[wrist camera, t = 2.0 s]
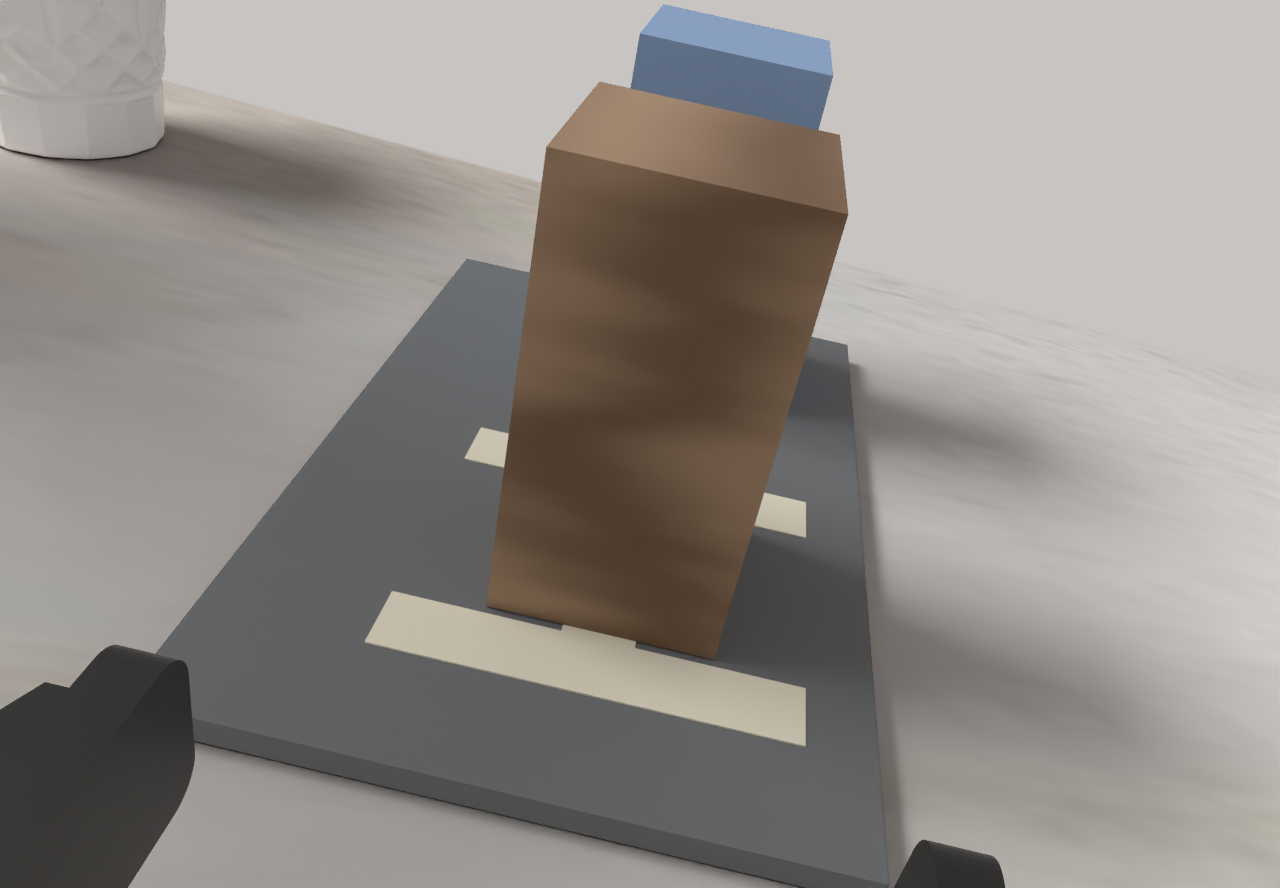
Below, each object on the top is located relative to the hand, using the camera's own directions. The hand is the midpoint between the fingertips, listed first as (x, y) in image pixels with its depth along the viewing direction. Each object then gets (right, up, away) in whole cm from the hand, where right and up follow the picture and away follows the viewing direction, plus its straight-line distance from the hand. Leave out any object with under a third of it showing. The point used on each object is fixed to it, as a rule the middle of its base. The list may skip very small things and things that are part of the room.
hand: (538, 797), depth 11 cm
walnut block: (+1, +1, +13) cm, 13 cm away
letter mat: (0, +3, +17) cm, 17 cm away
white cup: (-22, +16, +31) cm, 41 cm away
